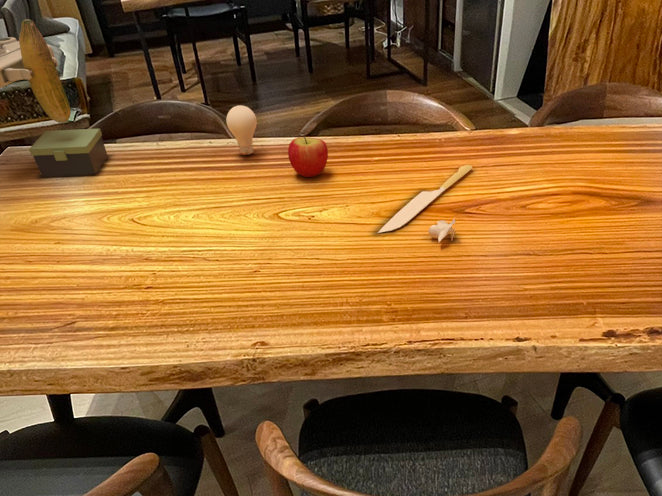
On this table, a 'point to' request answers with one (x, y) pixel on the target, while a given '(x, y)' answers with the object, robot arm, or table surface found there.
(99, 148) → the block
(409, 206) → the knife
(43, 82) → the vegetable
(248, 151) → the light bulb
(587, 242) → the table surface
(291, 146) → the apple
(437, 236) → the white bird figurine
